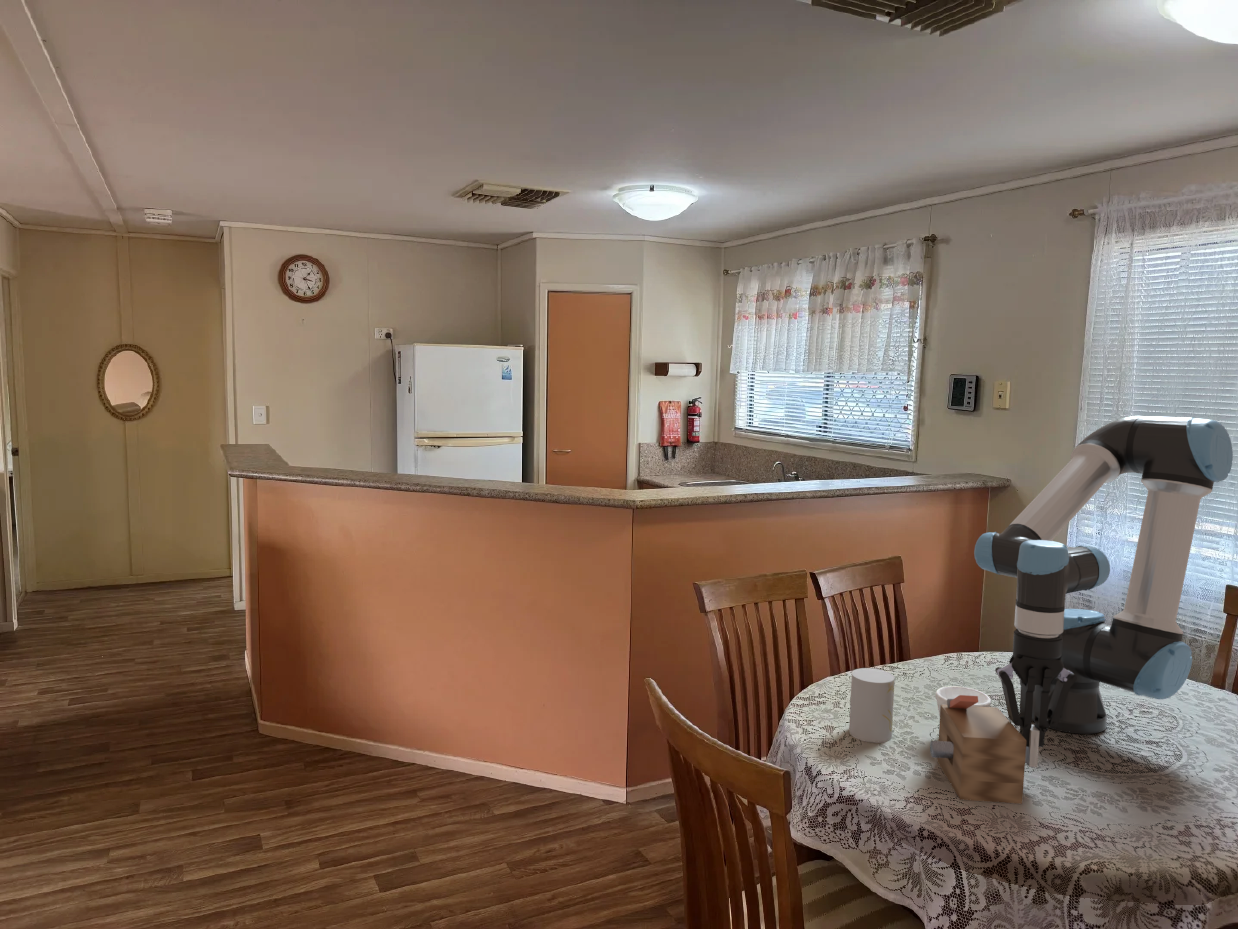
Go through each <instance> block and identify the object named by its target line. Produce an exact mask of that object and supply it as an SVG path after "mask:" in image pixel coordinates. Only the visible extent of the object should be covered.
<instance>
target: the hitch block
mask: <svg viewBox="0 0 1238 929" xmlns="http://www.w3.org/2000/svg"><path fill="white" fill-rule="evenodd" d="M938 741H947V742H953V744H954V750H953V759H951V758H936V759H937V762H936V763H937V764H938V765H939V767H940V768H941V770H942V772H943V774H944V776H945V777H946V779H947V781H948V782H949V784H950V786H951V787H952V789H953V790H954V792H955V794H956V796H957V798H958V799H959V800H960V801H970V802H971V801H975V802H989V803H1006V804H1018V805H1019V804H1020V805H1022V804H1023V798H1024V797H1023V795H1024V781H1025V768H1026V762H1025V755H1026V739H1025V738H1024V737H1023V736H1022V735H1021V734H1020V730H1018V729H1017V728H1016V727H1015V726H1014V724H1013V722H1012V721H1011V720H1010V719H1009V718H1007V717H1006V715H1005V714H1004V713H1003V712H1002V711H1001V710H1000V708H999V707H994V706H990V707H979V706H971V707H969V708H967V709H960V708H948V706H947V705H942V704H941V707H940V716H939V728H938Z"/></svg>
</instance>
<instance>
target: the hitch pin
mask: <svg viewBox="0 0 1238 929" xmlns="http://www.w3.org/2000/svg"><path fill="white" fill-rule="evenodd" d="M929 748H930V749H929V752H930V756H931V757H932V758H936V759H938V758H951V759H953V750H954V744H953V742H947V741H939V740H930V746H929Z"/></svg>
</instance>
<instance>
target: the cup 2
mask: <svg viewBox="0 0 1238 929" xmlns="http://www.w3.org/2000/svg"><path fill="white" fill-rule="evenodd" d="M959 695H966V696H978V702H977V703H976V704H974V705H972V706H979V707H991V704H992V699H991V698H990V697H989V695H988V694H986V693H985V692H983V691H980V690H977V689H975V688H971V687H966V686H956V685H954V686H953V685H949V686H942V687H940V688H937V690H936V691H935V699H936V700H935V701H936V704H937V710H938V715H939V717H940V707H941V704H942V705H947V699H954V698H956V697H958V696H959Z"/></svg>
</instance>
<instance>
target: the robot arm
mask: <svg viewBox="0 0 1238 929" xmlns="http://www.w3.org/2000/svg"><path fill="white" fill-rule="evenodd" d="M1233 453H1234V452H1233V445H1232V440H1231V437H1230V434H1229V432H1228V429H1226V427H1225V426H1224V425H1223V424H1222V423H1221V422H1219V421H1217V420H1214V419H1208V418H1197V417H1195V416H1192V417H1186V416H1185V417H1184V416H1181V417H1180V416H1177V417H1175V416H1152V415H1151V416H1150V415H1149V416H1148V415H1131V416H1126V417H1122V418H1119V419H1116V420H1113V421H1111V422H1109V423H1107V424H1105V425H1104V426H1101V427H1100V428H1098V429H1096V430H1094V431H1092V433H1090V434H1088V435H1087V436H1086V437H1085V438H1084V439H1082V440H1081V441H1080V442H1079V443H1078V444H1077V445H1076V446H1075V448H1073V450H1072V452H1071V454H1070V460H1069V461H1068V462H1067V464H1065V465H1064V466H1063V468H1062V469H1061V470H1060V471H1059V472H1058V473H1057V474H1056V475H1055V476H1054V477H1053V478H1052V479H1051V480H1050V481H1049V483H1048V484H1047V485H1046V486H1045V487H1044V488H1043V489H1042V490H1041V491H1040V492H1039V493H1038V494H1037V495H1036V496H1035V497H1034V498H1033V500H1031V502H1030V503H1028V505H1027V506H1026V507H1025V508H1024V509H1023V510H1022V511H1020V513H1019V514H1018V515H1017V516H1016V517H1015V518H1014V519H1013V520H1012V522H1011V523H1010V524H1009V525H1008V526H1007V527H1006V528H1005V529H1004V530H1003V531H1002V532H1001V533H999V532H997V531H994V532H989V531H988V532H985V533H982V534H981V535H980V536H979V537H978V539H977V540H976V543H975V545H974V551H973V554H974V560H975V563H976V564H977V566H978V567H979V568H980V569H982V570H985V571H988V572H990V573H994V574H996V575H1000V576H1001V575H1003V576H1006V577H1011V578H1016V599H1015V608H1014V609H1015V611H1014V623H1013V624H1014V625H1013V626H1014V627H1015V628H1016V629H1014V631H1013V638H1012V642H1013V643H1012V656H1011V657H1010V658H1009V661H1008V662H1009V664H1006V665H1005V666H1003V667H1000V666H997V667H995V670H994V671H995V673H996V675H997V676H998V678H999V680H1000V682H1001V686H1002V691H1003V697H1004V701H1005V707H1006V711H1007V716H1008V720H1009V721H1010V722H1011V723H1012V724H1013V725H1015V726H1019V733H1020V734H1021V735H1022V736H1023V737H1024V738H1025V739H1026V755H1025V765H1026V766H1028V767H1029V768H1038V762H1039V748H1043V747H1044V745H1045V736H1046V735H1045V733H1046V732H1048V731H1049V729H1051V730H1056V731H1059V732H1060V731H1061V732H1065V733H1071V734H1080V735H1081V734H1082V735H1084V734H1085V735H1087V734H1098V733H1101V732H1103V731H1105V730H1106V728H1107V722H1108V721H1107V720H1108V717H1107V712H1106V708H1105V705H1104V701H1103V698H1102V694H1101V691H1100V683H1102V684H1104V685H1109V686H1111V687H1114V688H1117V689H1121V690H1124V691H1128V692H1131V693H1132V694H1133V693H1134V694H1135V695H1136V696H1138V697H1139V696H1141V697H1143V696H1144V697H1147V698H1151V699H1155V700H1167V699H1169V698H1171V697H1173V696H1174V695H1175V694H1177V693H1178V691H1180V689H1181V688H1182V687H1183V686H1184V684H1185V682H1186V681H1187V679H1188V677H1189V674H1190V672H1191V668H1192V664H1193V657H1192V654H1193V651H1192V648H1191V647H1190V646H1189V645H1188V644H1187V643H1186V642H1185V641H1183V636H1184V631H1183V630H1182V629H1181V627H1180V626H1179V625H1178V623H1177V618H1178V613H1179V606H1180V602H1181V598H1182V593H1183V592H1182V591H1183V588H1184V582H1185V578H1186V573H1187V566H1188V562H1189V558H1190V554H1191V550H1192V549H1191V548H1192V543H1193V539H1194V534H1195V528H1196V524H1197V518H1198V514H1199V509H1200V504H1201V500H1202V498H1204V497H1206V496H1208V495H1209V494H1211V493H1212V492H1213V488H1214V483H1220V482H1223V481H1225V480H1226V479H1227V478H1228V477H1229V474H1230V473H1231V471H1232V466H1233V457H1234V456H1233V455H1234V454H1233ZM1129 473H1134V474H1135V473H1136V474H1140V475H1142V476H1141V480H1140V482H1141V483H1142V485H1144V487H1145V489H1146V491H1147V496H1146V501H1145V504H1144V510H1143V514H1142V519H1141V524H1140V525H1141V526H1140V530H1139V534H1138V540H1137V545H1136V549H1135V553H1134V554H1135V555H1134V560H1133V563H1132V569H1131V574H1130V579H1129V583H1128V584H1129V585H1128V589H1127V594H1126V598H1125V599H1126V600H1125V601H1124V602H1125V603H1124V608H1123V610H1122V611H1120V612H1118V613H1117V614H1114V615H1113V616H1112V621H1111V624H1110V623H1107V622H1106V621H1107V620H1106V618H1105V614H1104V613H1102V612H1100V611H1097V610H1091V609H1082V608H1065V607H1066V606H1065V605H1066V596H1067V594H1071V593H1075V592H1080V591H1081V592H1082V591H1087V590H1088V591H1089V590H1092V589H1094V588H1096V587H1100V586H1102V585H1103V584H1104V583H1105V582H1106V581H1107V580H1108V578H1109V576H1110V572H1111V565H1110V561H1109V558H1108V557H1107V556H1106V555H1105V553H1104V552H1103V551H1101V549H1099V548H1096V547H1094V546H1091V545H1090V546H1089V545H1085V546H1084V545H1076V546H1067V545H1066V544H1064V543H1061V542H1059V541H1054V539H1055V538H1056V537H1057V536H1058V535H1059V534H1060V533H1061V532H1062V530H1063V529H1064V528H1065V527H1066V526H1067V525H1068V524H1069V523H1070V522H1071V520H1072V519H1073V518H1074V517H1075V516H1076V515H1077V514H1078V513H1079V512H1080V511H1081V510H1082V508H1083V507H1084V506H1085V505H1087V503H1088V502H1089V501H1090V500H1091V498H1092V497H1093V496H1094V495H1095V494H1096V493H1097V492H1098V491H1099V490H1100V489H1101V488H1102V486H1103V485H1104V484H1109V483H1112V482H1113V481H1116V479H1117V478H1118V477H1119V476H1120V475H1123V474H1129ZM1014 673H1015V674H1016V676H1017V677H1018V679H1019V685H1020V695H1019V696H1020V698H1019V707H1018V701H1017V697H1016V692H1015V687H1014V683H1013V681H1012V680H1013V677H1014ZM1032 721H1033V722H1032Z"/></svg>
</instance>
